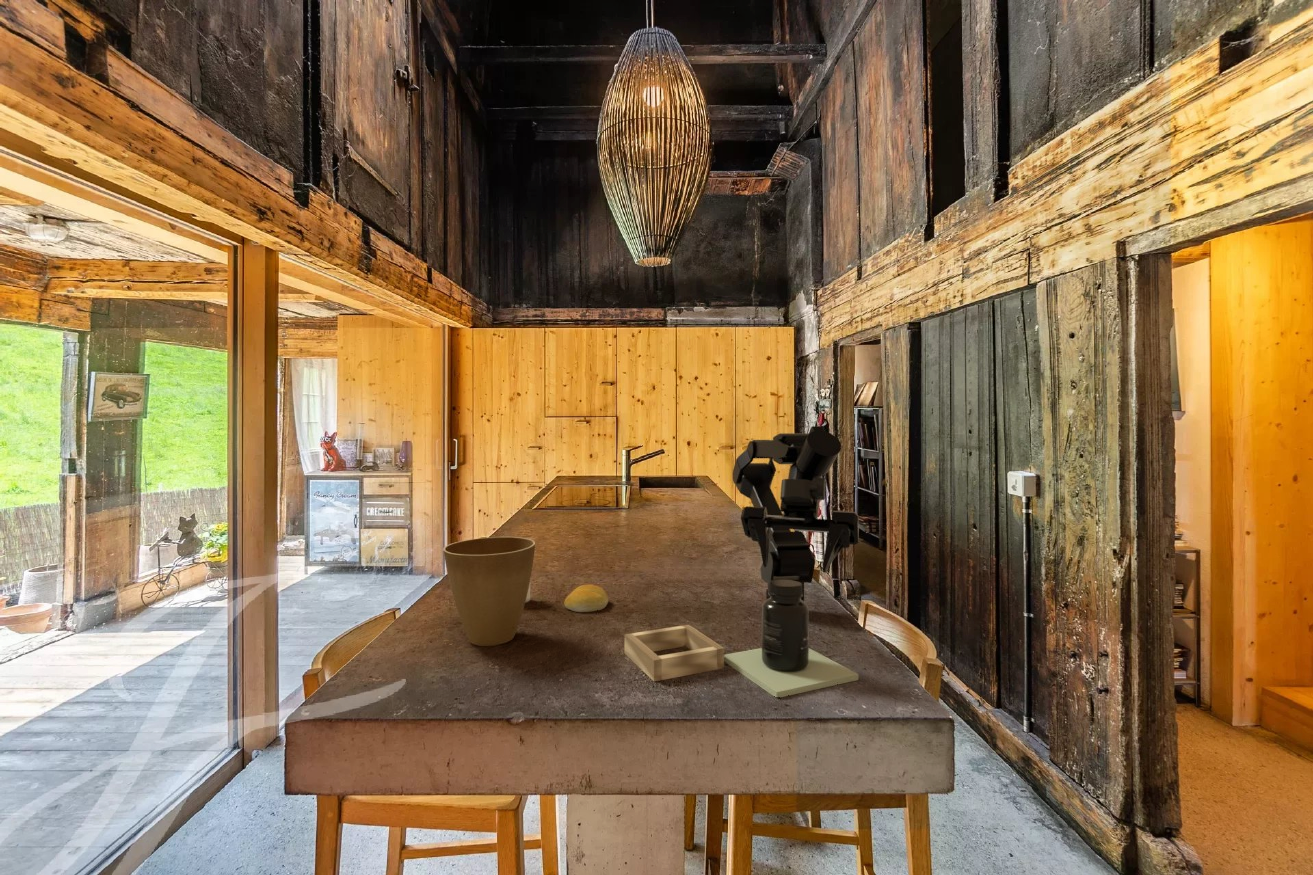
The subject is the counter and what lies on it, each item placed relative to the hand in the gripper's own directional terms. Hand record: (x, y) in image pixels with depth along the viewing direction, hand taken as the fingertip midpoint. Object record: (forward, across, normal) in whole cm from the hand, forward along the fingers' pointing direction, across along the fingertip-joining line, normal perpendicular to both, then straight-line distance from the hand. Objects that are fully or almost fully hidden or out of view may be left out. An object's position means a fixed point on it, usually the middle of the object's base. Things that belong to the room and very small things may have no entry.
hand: (793, 568), depth 94 cm
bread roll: (+2, -42, +18) cm, 46 cm away
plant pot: (+18, -49, +1) cm, 52 cm away
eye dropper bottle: (+4, -56, +15) cm, 59 cm away
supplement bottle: (+14, 0, +4) cm, 14 cm away
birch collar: (+16, -17, +3) cm, 24 cm away
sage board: (+14, 0, +5) cm, 15 cm away
